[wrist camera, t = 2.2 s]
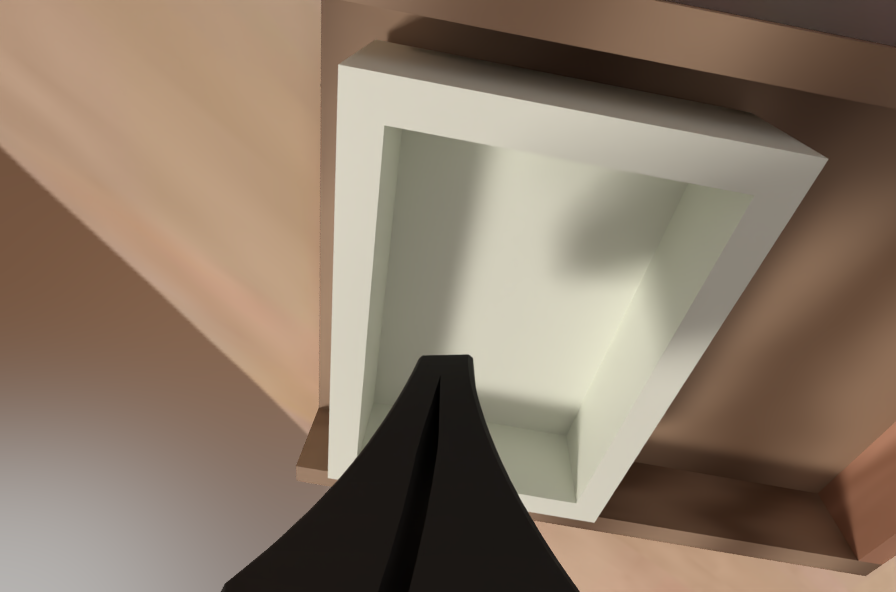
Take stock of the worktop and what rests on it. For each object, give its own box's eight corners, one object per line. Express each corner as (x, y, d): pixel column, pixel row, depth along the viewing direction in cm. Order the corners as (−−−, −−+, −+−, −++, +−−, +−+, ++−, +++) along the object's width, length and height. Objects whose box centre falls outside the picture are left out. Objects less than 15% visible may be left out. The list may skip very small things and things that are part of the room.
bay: (1218, 111, 13) (1464, 162, 10) (813, 489, 23) (865, 576, 20) (333, -67, 12) (274, -76, 9) (325, 405, 23) (296, 480, 19)
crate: (750, 112, 13) (828, 158, 10) (580, 442, 21) (594, 522, 18) (375, 39, 12) (338, 64, 9) (351, 403, 20) (327, 478, 17)
